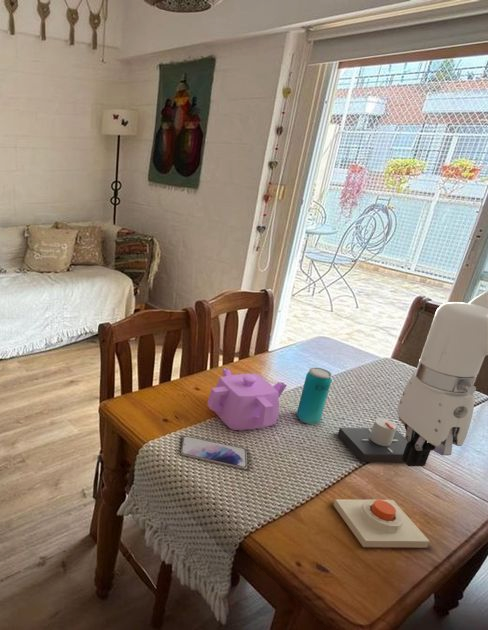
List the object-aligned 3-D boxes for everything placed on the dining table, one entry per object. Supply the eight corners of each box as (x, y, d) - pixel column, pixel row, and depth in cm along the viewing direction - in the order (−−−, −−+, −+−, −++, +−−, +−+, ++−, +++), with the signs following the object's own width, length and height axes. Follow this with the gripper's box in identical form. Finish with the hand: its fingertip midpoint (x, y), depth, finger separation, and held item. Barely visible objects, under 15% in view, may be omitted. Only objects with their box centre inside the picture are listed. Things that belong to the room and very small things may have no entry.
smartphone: (247, 468, 100) (180, 453, 105) (246, 471, 101) (180, 456, 105) (246, 448, 106) (183, 435, 111) (245, 451, 107) (182, 438, 111)
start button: (385, 506, 87) (387, 499, 86) (397, 521, 84) (400, 514, 83) (367, 506, 87) (369, 499, 86) (379, 521, 84) (381, 514, 83)
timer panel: (390, 437, 113) (394, 427, 111) (419, 464, 103) (424, 454, 102) (336, 437, 113) (339, 427, 111) (360, 464, 103) (364, 453, 102)
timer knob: (365, 434, 109) (371, 416, 107) (383, 434, 109) (389, 416, 107) (376, 446, 105) (383, 427, 103) (395, 446, 105) (401, 428, 103)
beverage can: (323, 427, 116) (337, 378, 111) (301, 426, 116) (314, 377, 111) (312, 414, 122) (325, 367, 116) (292, 414, 122) (303, 366, 116)
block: (389, 507, 91) (395, 493, 90) (426, 549, 82) (433, 534, 81) (332, 507, 91) (337, 492, 90) (362, 549, 82) (368, 533, 80)
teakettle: (202, 422, 118) (208, 382, 113) (218, 393, 131) (225, 356, 126) (270, 444, 109) (280, 403, 105) (280, 411, 123) (289, 373, 118)
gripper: (508, 400, 66) (467, 494, 73) (432, 354, 80) (404, 437, 87) (459, 401, 66) (422, 494, 73) (391, 355, 80) (366, 437, 87)
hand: (412, 463), depth 80 cm, fingers closed
